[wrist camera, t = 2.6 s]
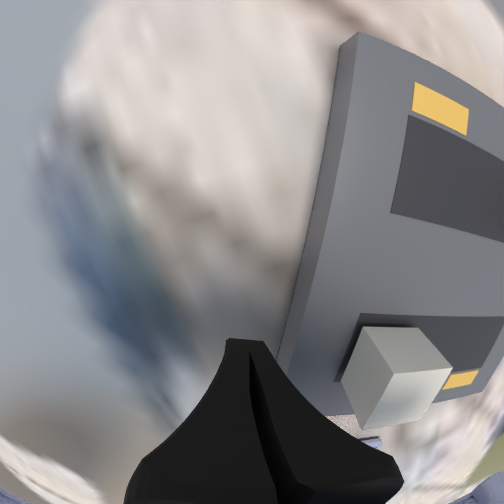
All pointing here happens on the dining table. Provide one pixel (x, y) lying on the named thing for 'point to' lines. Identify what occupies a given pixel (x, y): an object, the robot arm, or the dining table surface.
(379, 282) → the switch box
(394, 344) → the tab
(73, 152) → the dining table surface
